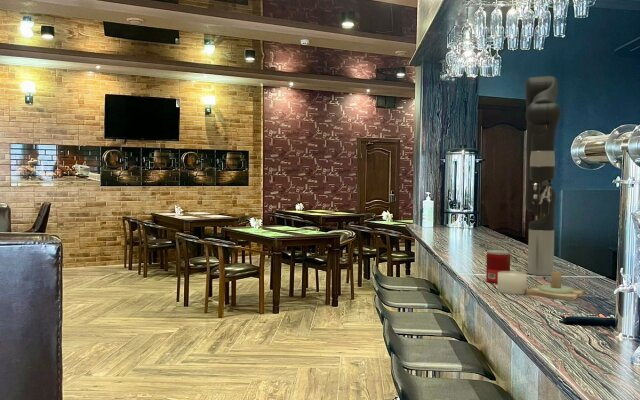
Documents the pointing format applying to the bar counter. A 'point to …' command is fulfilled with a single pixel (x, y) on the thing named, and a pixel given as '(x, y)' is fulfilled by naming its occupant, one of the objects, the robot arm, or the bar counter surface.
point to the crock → (512, 282)
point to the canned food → (496, 264)
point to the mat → (569, 296)
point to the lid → (556, 285)
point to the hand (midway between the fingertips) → (541, 214)
